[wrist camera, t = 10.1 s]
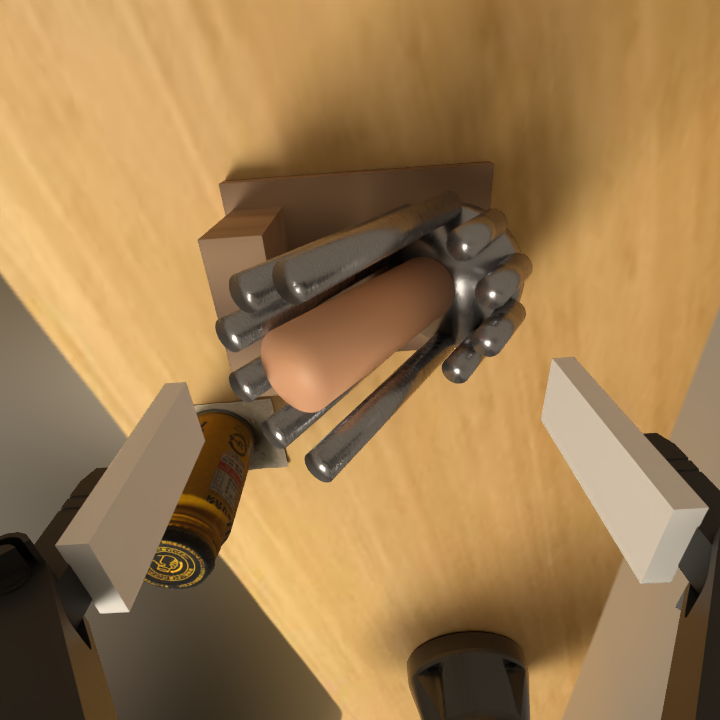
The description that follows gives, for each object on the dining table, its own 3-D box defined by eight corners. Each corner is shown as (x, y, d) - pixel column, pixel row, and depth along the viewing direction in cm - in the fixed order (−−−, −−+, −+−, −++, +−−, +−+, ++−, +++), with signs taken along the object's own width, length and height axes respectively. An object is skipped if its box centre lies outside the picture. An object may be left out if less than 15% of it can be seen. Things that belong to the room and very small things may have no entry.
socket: (491, 326, 31) (585, 472, 19) (278, 340, 32) (230, 493, 19) (506, 176, 26) (650, 238, 14) (251, 194, 26) (161, 272, 14)
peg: (452, 323, 27) (334, 424, 18) (397, 312, 29) (268, 397, 20) (456, 260, 25) (326, 339, 16) (396, 253, 27) (253, 319, 18)
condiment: (168, 407, 35) (89, 534, 24) (271, 396, 34) (235, 521, 24) (195, 472, 38) (137, 607, 28) (288, 463, 38) (265, 596, 28)
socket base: (474, 338, 32) (507, 401, 25) (260, 352, 32) (235, 419, 25) (487, 161, 26) (537, 180, 19) (224, 180, 26) (177, 207, 19)
